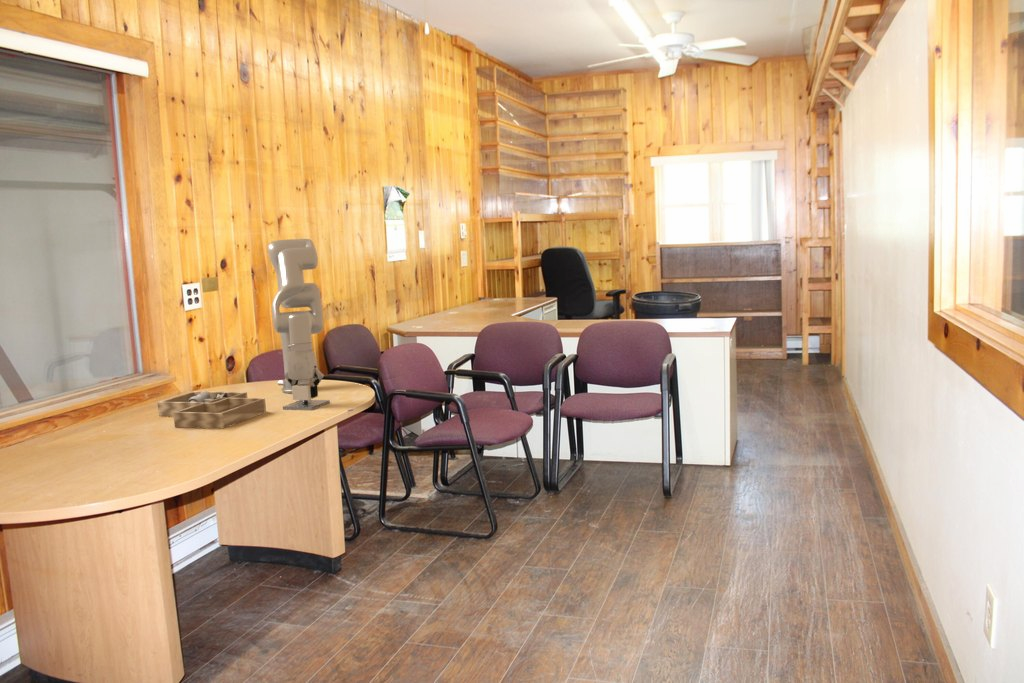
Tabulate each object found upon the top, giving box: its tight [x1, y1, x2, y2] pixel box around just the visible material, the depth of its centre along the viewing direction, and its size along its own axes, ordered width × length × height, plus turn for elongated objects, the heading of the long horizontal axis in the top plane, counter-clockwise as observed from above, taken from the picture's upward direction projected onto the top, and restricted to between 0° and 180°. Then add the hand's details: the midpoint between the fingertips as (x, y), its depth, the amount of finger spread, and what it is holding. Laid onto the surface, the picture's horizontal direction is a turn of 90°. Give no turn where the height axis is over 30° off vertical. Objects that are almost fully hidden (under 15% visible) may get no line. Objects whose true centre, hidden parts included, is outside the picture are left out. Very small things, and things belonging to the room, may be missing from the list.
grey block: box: [291, 382, 319, 401], centre depth 300 cm, size 6×7×6 cm
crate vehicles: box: [173, 397, 267, 430], centre depth 286 cm, size 19×24×5 cm
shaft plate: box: [282, 399, 331, 411], centre depth 301 cm, size 12×12×6 cm
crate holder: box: [157, 391, 248, 417], centre depth 302 cm, size 24×19×5 cm
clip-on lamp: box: [188, 390, 227, 403], centre depth 302 cm, size 12×6×18 cm
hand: (305, 396), depth 301 cm, fingers closed on grey block, 6 cm apart
